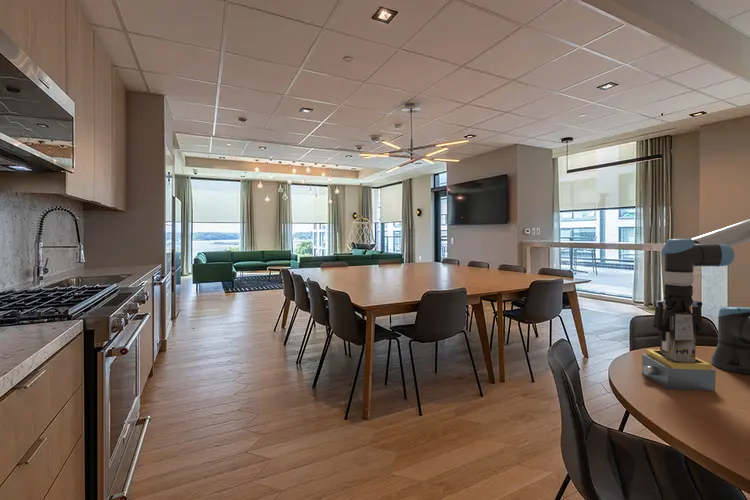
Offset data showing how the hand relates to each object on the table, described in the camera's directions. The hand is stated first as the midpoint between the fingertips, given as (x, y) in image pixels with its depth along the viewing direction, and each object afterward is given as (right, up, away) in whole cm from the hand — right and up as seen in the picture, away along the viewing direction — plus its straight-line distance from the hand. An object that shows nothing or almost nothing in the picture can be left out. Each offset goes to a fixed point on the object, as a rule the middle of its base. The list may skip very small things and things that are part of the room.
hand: (677, 350), depth 126 cm
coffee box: (0, -3, 0) cm, 3 cm away
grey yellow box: (-1, -11, +1) cm, 11 cm away
